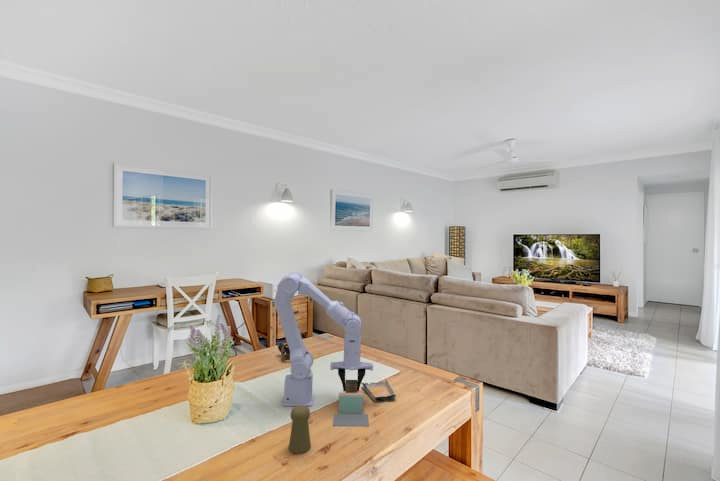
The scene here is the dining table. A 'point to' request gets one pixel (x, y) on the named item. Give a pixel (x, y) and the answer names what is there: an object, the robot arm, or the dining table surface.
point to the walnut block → (351, 386)
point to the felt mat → (350, 420)
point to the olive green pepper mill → (300, 430)
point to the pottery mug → (284, 349)
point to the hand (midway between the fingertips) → (351, 390)
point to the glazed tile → (351, 402)
